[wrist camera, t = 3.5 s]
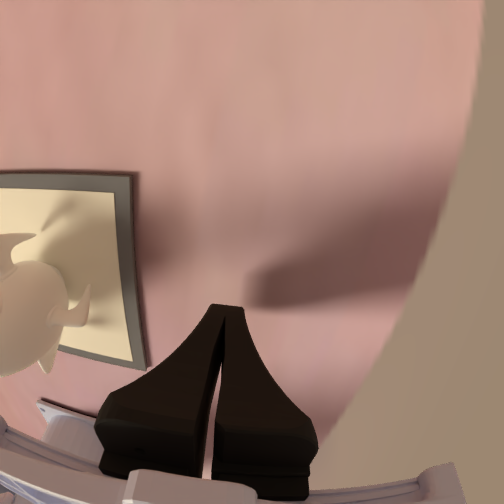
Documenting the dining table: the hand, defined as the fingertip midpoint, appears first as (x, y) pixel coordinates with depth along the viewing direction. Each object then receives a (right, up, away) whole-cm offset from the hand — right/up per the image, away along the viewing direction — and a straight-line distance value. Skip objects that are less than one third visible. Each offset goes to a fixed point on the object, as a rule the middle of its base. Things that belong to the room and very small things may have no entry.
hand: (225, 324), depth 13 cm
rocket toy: (-9, +2, +1) cm, 9 cm away
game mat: (-18, +3, +1) cm, 18 cm away
